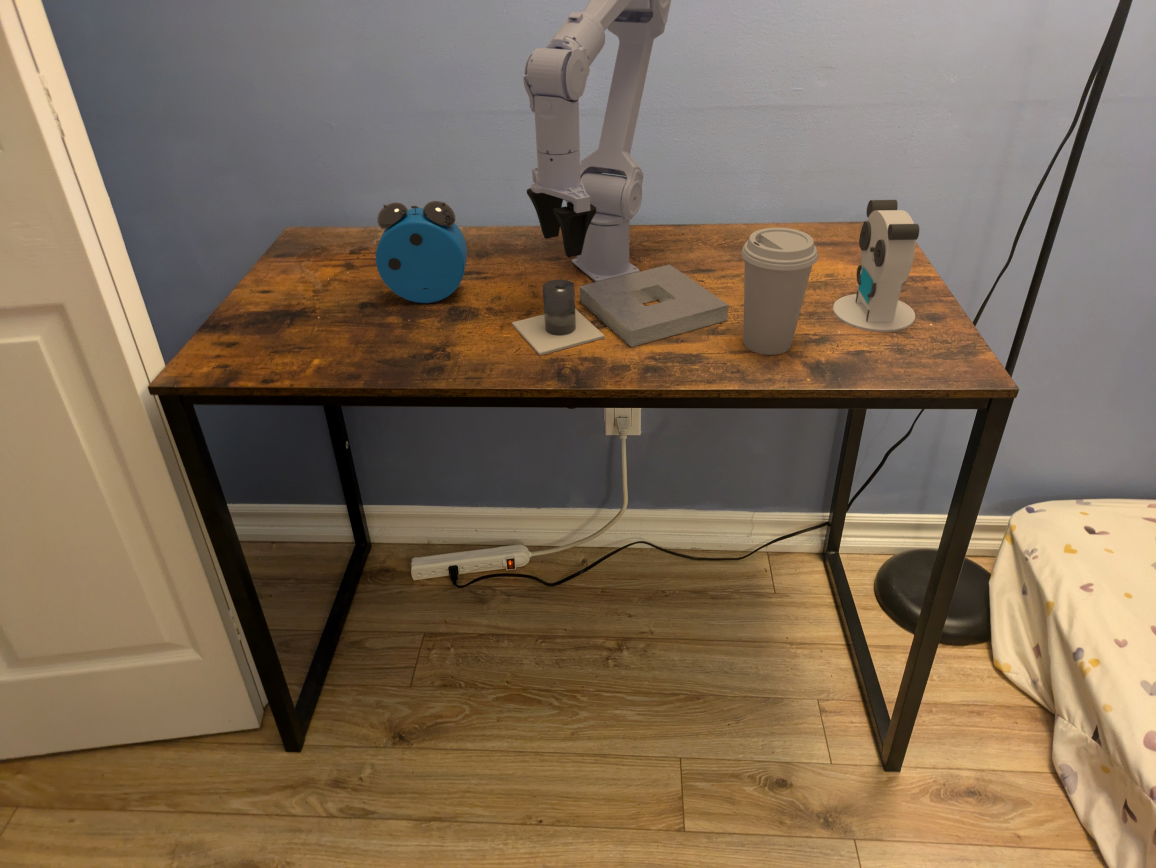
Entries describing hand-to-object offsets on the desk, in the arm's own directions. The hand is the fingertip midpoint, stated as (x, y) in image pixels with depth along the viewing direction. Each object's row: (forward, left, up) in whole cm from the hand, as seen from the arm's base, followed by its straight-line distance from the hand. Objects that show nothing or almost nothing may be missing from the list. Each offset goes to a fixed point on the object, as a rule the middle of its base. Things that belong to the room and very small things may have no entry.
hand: (562, 245), depth 109 cm
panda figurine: (+23, +39, -10) cm, 46 cm away
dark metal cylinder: (+6, -4, -10) cm, 12 cm away
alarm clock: (-14, -17, -10) cm, 24 cm away
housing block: (+7, +11, -10) cm, 16 cm away
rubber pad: (+6, -4, -10) cm, 12 cm away
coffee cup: (+23, +20, -10) cm, 32 cm away
